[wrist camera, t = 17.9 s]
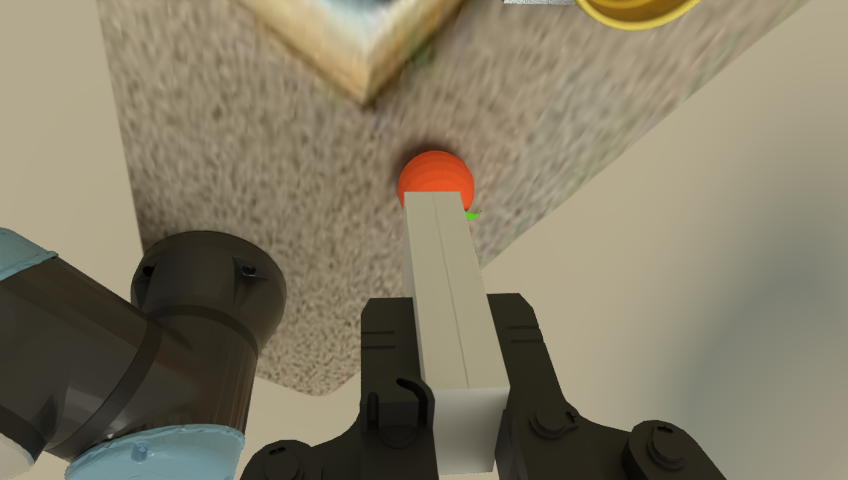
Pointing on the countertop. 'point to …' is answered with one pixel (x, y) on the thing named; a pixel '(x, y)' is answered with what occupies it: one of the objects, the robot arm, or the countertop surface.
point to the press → (542, 2)
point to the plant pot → (635, 12)
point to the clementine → (438, 177)
